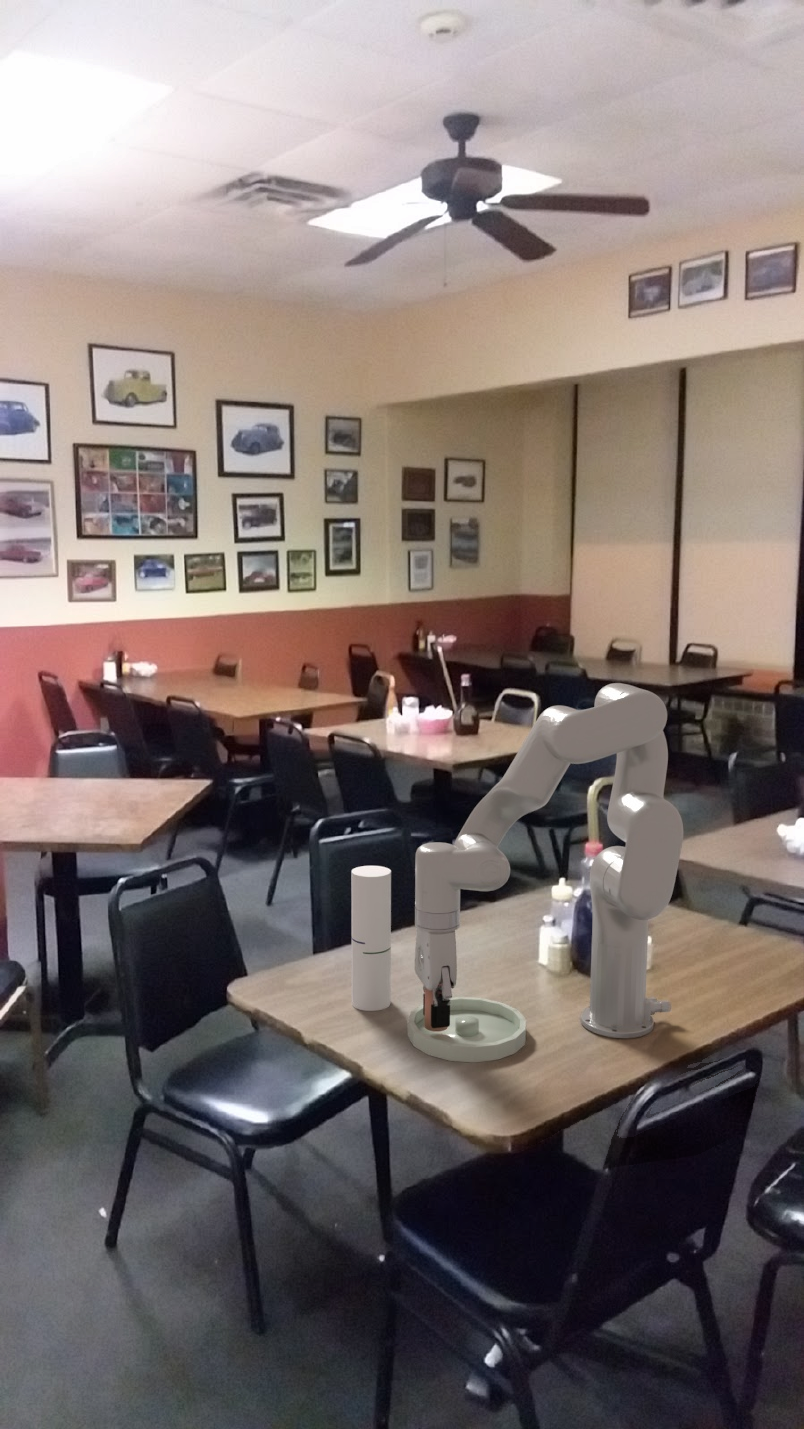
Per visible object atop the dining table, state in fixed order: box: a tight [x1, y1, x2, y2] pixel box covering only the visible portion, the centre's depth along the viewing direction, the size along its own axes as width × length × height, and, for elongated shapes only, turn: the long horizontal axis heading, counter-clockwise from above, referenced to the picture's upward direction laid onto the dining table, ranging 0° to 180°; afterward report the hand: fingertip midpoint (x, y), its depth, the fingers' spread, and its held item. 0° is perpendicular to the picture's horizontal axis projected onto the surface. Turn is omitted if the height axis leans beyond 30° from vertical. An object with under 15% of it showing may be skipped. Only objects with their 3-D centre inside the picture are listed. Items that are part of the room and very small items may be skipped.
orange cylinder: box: [424, 984, 448, 1032], centre depth 181 cm, size 4×4×7 cm
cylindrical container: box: [350, 865, 392, 1012], centre depth 194 cm, size 7×7×25 cm
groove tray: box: [407, 996, 527, 1063], centre depth 183 cm, size 20×20×3 cm
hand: (436, 1019), depth 181 cm, fingers closed on orange cylinder, 3 cm apart
